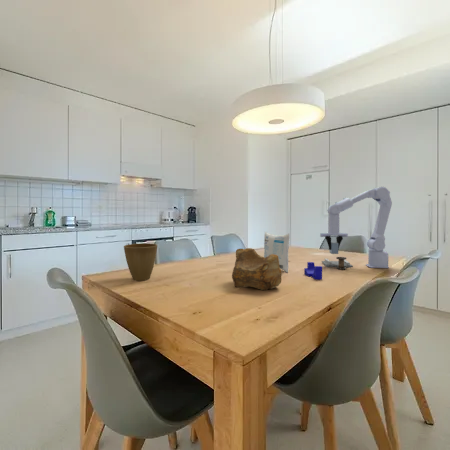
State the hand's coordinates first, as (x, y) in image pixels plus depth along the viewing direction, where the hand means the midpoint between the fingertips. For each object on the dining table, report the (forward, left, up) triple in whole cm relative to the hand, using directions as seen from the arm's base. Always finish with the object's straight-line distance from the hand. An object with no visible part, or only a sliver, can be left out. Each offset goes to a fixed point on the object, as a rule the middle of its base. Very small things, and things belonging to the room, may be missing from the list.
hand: (333, 249), depth 159 cm
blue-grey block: (0, 0, -2) cm, 2 cm away
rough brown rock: (+44, +51, -10) cm, 67 cm away
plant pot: (+95, +46, -10) cm, 105 cm away
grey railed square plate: (-2, -3, -9) cm, 10 cm away
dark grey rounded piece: (-2, +8, -9) cm, 12 cm away
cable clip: (+15, +29, -10) cm, 34 cm away
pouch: (+33, +15, -10) cm, 37 cm away
